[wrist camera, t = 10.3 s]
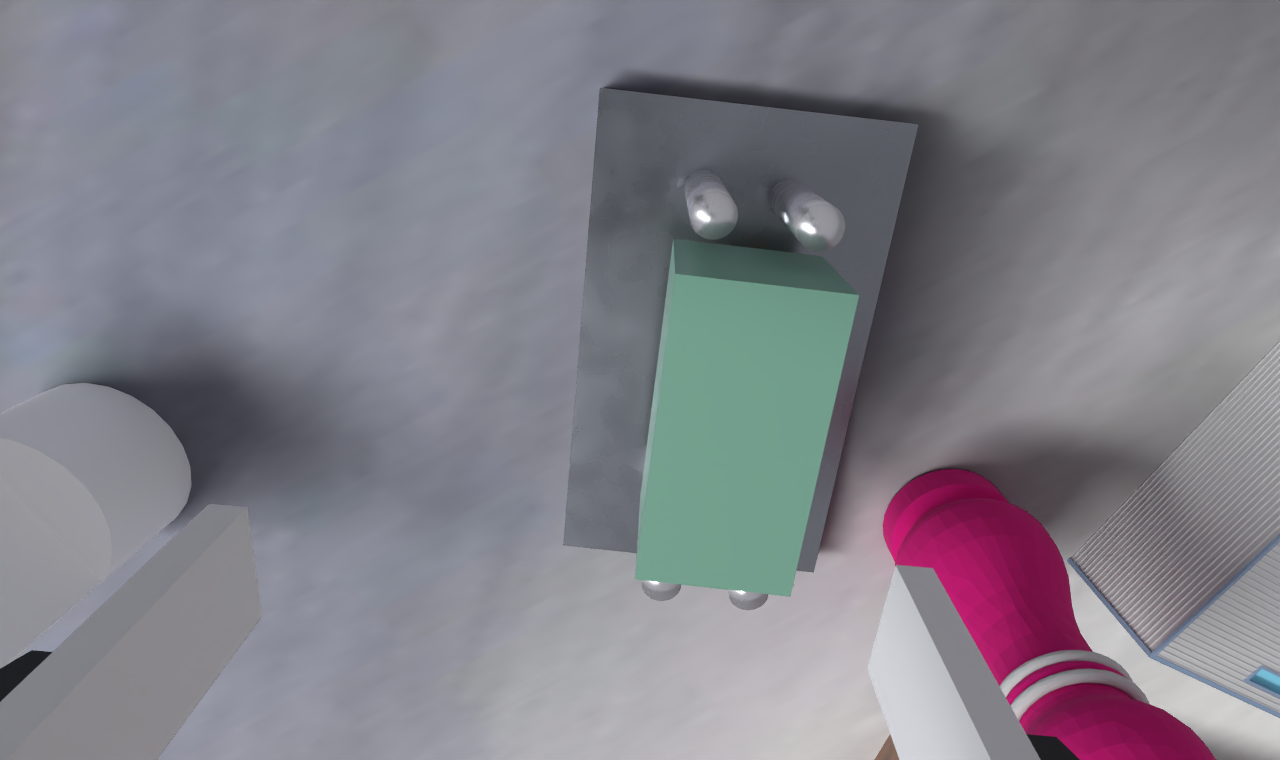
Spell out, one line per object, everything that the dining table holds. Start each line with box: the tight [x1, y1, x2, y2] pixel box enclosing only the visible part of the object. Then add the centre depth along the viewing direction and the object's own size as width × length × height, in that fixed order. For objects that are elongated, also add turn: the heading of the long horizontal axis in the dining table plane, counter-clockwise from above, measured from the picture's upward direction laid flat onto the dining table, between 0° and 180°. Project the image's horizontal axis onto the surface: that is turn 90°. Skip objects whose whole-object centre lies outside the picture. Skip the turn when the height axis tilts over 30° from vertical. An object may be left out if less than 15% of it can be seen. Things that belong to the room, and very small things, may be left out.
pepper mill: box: [883, 469, 1216, 760], centre depth 29 cm, size 7×7×20 cm
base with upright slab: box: [0, 383, 192, 668], centre depth 33 cm, size 9×9×12 cm
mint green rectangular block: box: [635, 239, 859, 597], centre depth 29 cm, size 12×6×6 cm, turn 174°
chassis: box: [563, 88, 919, 610], centre depth 31 cm, size 22×13×8 cm, turn 174°
